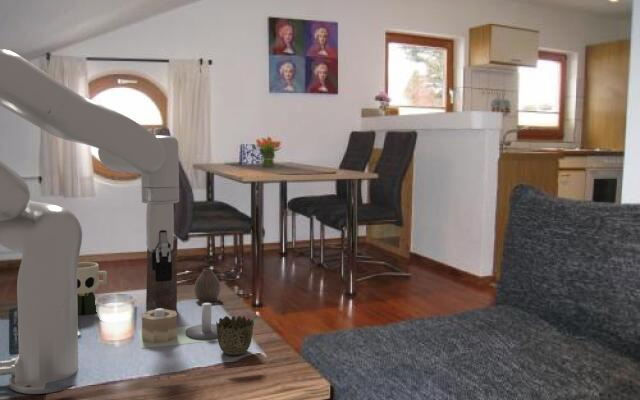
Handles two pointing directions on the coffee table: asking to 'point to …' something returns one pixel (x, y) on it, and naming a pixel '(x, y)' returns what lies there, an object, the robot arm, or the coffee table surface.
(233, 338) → the fiber plant pot
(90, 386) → the coffee table surface
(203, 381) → the coffee table surface
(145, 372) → the coffee table surface
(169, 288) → the brown log
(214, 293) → the vase
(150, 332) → the collar
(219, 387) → the coffee table surface
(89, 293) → the character mug
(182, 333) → the hub board
